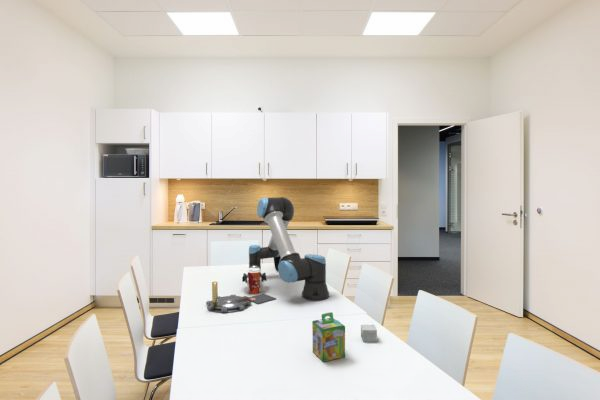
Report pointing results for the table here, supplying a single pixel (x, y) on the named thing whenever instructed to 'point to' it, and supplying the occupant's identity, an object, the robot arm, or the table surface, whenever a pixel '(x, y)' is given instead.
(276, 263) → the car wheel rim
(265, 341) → the table surface
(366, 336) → the small box
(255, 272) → the paper cup
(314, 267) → the robot arm
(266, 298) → the marked pad
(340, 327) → the chalk box
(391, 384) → the table surface
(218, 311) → the sprocket base
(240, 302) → the sprocket
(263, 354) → the table surface
